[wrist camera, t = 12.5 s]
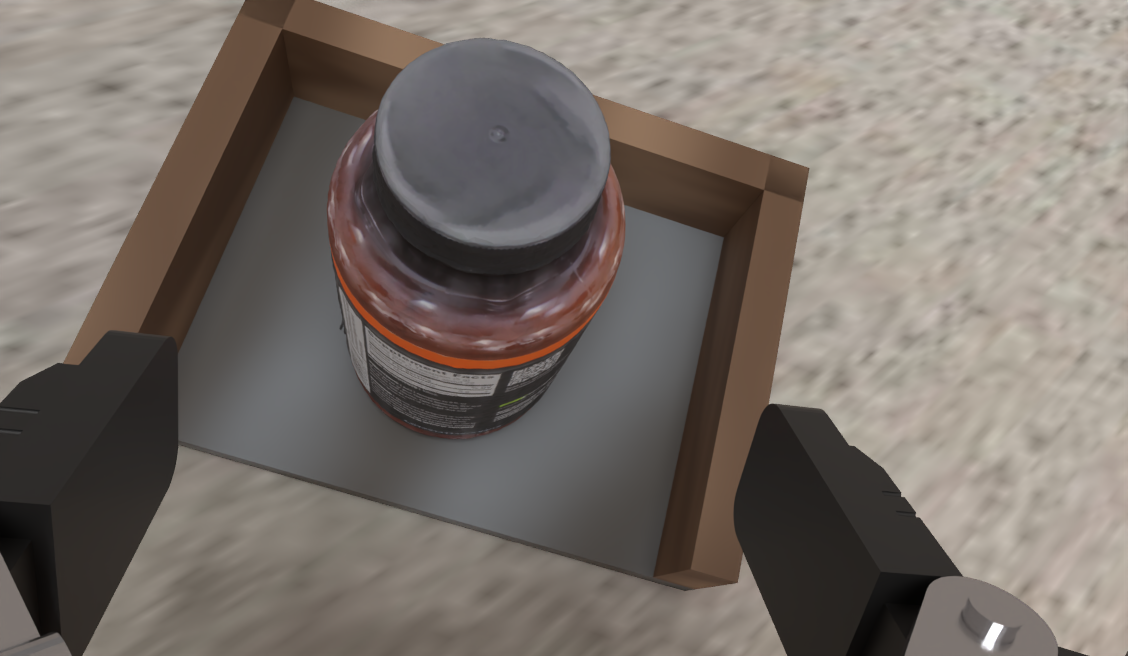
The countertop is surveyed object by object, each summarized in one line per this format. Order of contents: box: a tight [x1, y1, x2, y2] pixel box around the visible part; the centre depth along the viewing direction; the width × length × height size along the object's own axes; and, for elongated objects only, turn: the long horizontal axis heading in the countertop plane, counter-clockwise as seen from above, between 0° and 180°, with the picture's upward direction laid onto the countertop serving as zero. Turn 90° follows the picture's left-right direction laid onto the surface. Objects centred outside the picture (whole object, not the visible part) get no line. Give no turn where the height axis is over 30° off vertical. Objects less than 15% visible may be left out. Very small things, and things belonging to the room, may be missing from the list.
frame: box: [63, 0, 809, 591], centre depth 24 cm, size 16×12×4 cm
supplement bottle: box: [327, 38, 626, 439], centre depth 20 cm, size 6×6×11 cm
